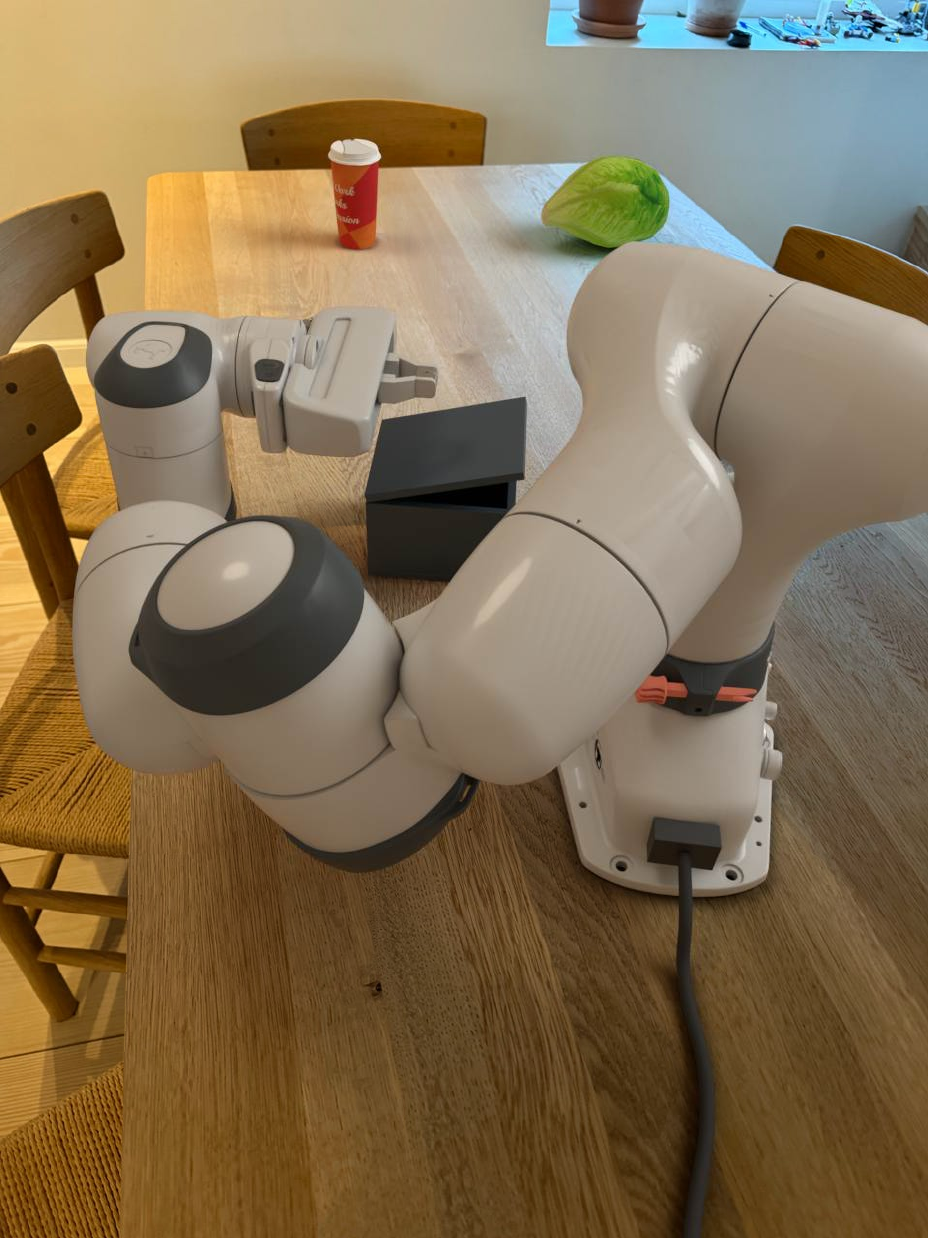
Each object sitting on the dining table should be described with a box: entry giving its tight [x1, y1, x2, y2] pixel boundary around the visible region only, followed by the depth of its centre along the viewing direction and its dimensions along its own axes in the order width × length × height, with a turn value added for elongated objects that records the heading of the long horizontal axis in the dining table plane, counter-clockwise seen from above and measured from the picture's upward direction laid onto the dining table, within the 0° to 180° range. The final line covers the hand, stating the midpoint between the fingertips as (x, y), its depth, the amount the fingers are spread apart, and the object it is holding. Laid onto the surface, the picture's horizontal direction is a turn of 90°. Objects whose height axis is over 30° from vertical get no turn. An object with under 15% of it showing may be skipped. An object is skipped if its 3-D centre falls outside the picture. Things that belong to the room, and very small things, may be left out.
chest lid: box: [363, 396, 528, 503], centre depth 89 cm, size 14×13×1 cm
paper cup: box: [327, 138, 382, 250], centre depth 143 cm, size 8×8×14 cm
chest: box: [365, 481, 518, 583], centre depth 94 cm, size 14×13×9 cm
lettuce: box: [540, 155, 670, 249], centre depth 147 cm, size 15×20×14 cm
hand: (436, 381), depth 84 cm, fingers closed
